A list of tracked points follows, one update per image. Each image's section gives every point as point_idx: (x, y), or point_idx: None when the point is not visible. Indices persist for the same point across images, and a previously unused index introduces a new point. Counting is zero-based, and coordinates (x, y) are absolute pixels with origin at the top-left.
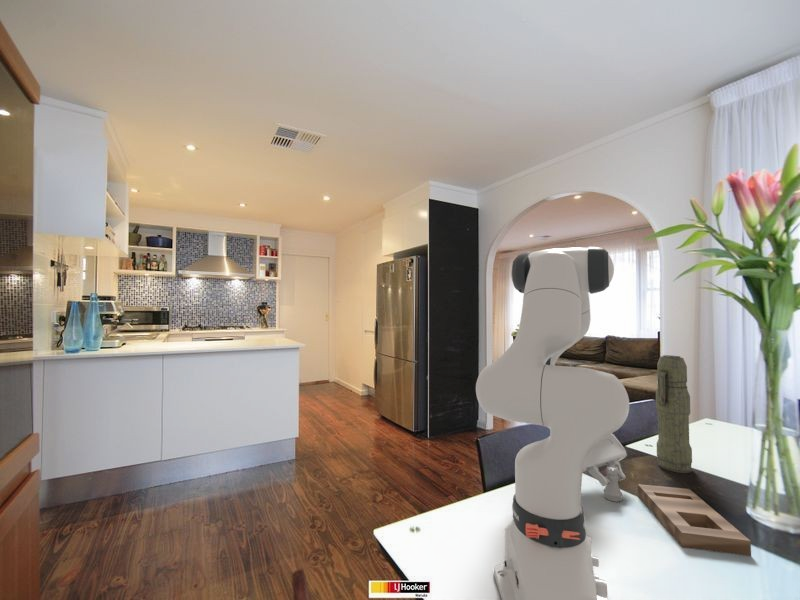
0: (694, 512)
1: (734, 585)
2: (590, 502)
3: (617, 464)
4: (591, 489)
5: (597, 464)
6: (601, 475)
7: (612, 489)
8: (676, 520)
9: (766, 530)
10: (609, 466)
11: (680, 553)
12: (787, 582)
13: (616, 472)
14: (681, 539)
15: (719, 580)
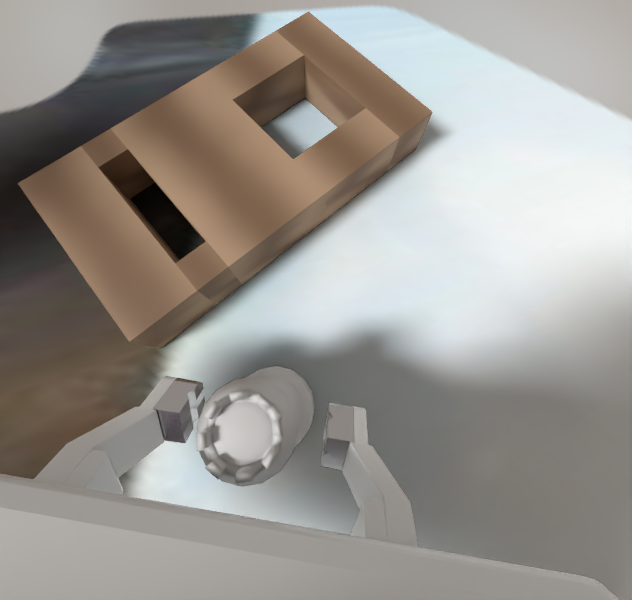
0: (246, 123)
1: (467, 59)
2: (400, 452)
3: (94, 454)
4: None
5: (364, 538)
6: (370, 455)
7: (297, 399)
8: (363, 141)
9: (127, 56)
10: (226, 466)
11: (449, 145)
12: (359, 12)
13: (269, 386)
14: (419, 135)
15: (478, 76)
